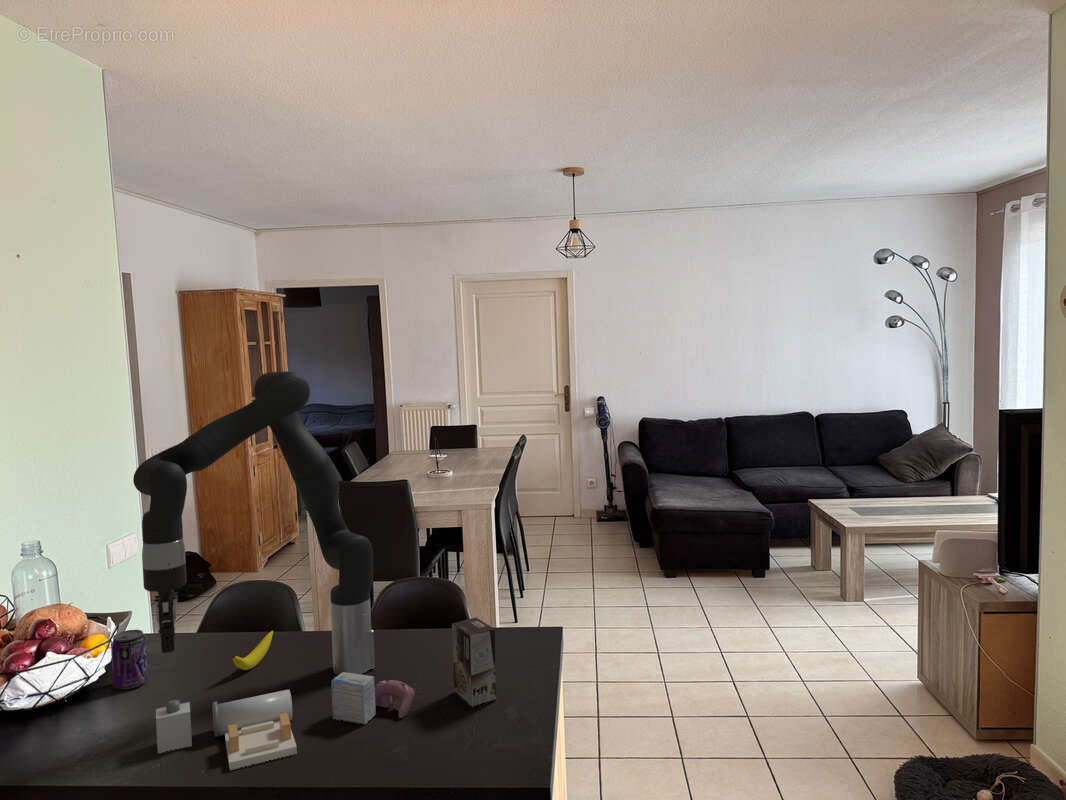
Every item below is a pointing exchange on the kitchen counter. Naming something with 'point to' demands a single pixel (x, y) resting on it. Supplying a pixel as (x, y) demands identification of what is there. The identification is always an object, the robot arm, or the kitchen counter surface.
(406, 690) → the video game controller
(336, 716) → the medicine box
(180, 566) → the robot arm
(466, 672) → the coffee box
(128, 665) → the beverage can
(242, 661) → the banana
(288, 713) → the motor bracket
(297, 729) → the kitchen counter surface
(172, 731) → the grey box with knob
